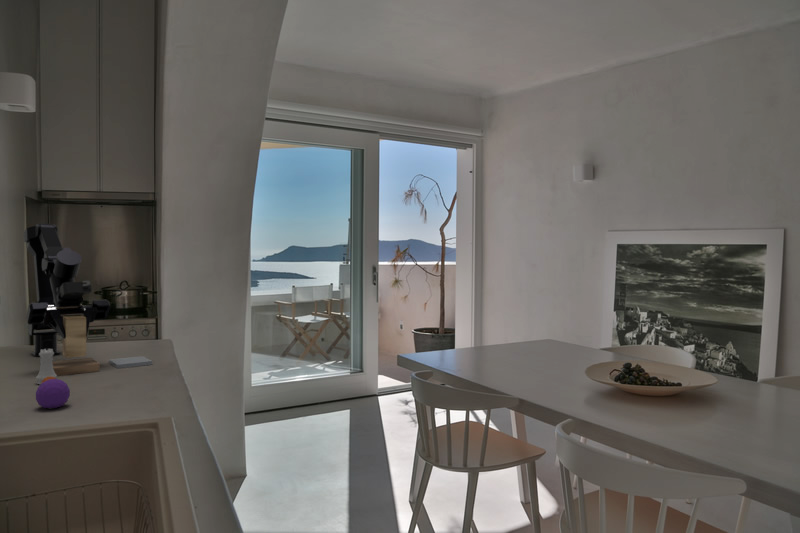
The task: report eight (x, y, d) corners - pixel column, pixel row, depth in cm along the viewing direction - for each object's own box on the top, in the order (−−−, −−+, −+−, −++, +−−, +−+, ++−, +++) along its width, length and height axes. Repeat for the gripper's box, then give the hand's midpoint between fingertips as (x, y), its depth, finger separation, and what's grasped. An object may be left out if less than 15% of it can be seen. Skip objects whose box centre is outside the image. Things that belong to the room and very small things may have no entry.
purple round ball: (67, 371, 133) (73, 381, 117) (61, 397, 133) (67, 412, 116) (37, 369, 130) (39, 379, 114) (31, 396, 130) (32, 410, 113)
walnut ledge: (44, 369, 152) (44, 362, 152) (90, 364, 159) (90, 357, 159) (51, 376, 145) (51, 368, 145) (99, 371, 152) (99, 363, 152)
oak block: (62, 355, 150) (62, 316, 149) (82, 353, 153) (82, 315, 152) (66, 357, 146) (66, 318, 146) (86, 356, 149) (86, 317, 149)
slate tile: (108, 363, 162) (108, 359, 162) (142, 359, 168) (142, 356, 168) (117, 368, 155) (117, 364, 155) (152, 364, 161) (152, 361, 161)
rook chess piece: (61, 381, 140) (61, 348, 140) (48, 385, 136) (48, 351, 135) (44, 380, 140) (44, 347, 140) (31, 384, 136) (30, 350, 136)
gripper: (28, 270, 145) (38, 319, 138) (108, 270, 158) (121, 314, 150) (22, 299, 151) (31, 347, 144) (99, 296, 164) (112, 340, 156)
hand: (75, 336), depth 148 cm, fingers closed on oak block, 5 cm apart
